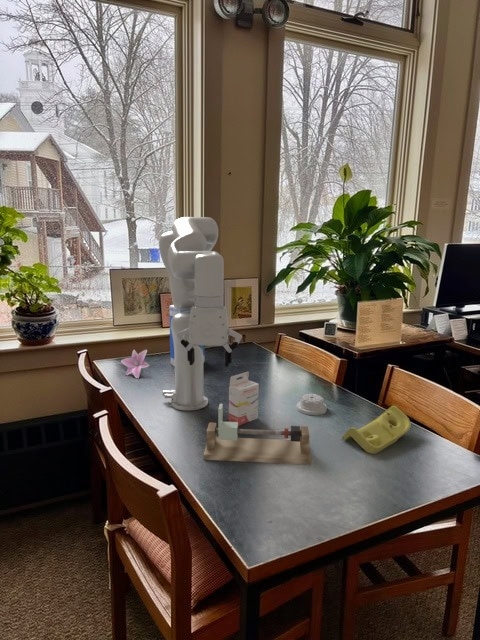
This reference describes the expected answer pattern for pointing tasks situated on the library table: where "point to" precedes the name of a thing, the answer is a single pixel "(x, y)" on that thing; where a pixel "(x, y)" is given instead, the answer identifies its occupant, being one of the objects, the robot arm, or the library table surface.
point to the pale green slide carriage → (226, 427)
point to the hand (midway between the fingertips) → (209, 364)
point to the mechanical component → (311, 405)
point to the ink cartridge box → (243, 399)
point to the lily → (135, 363)
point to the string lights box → (172, 312)
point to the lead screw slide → (260, 446)
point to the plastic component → (380, 431)
